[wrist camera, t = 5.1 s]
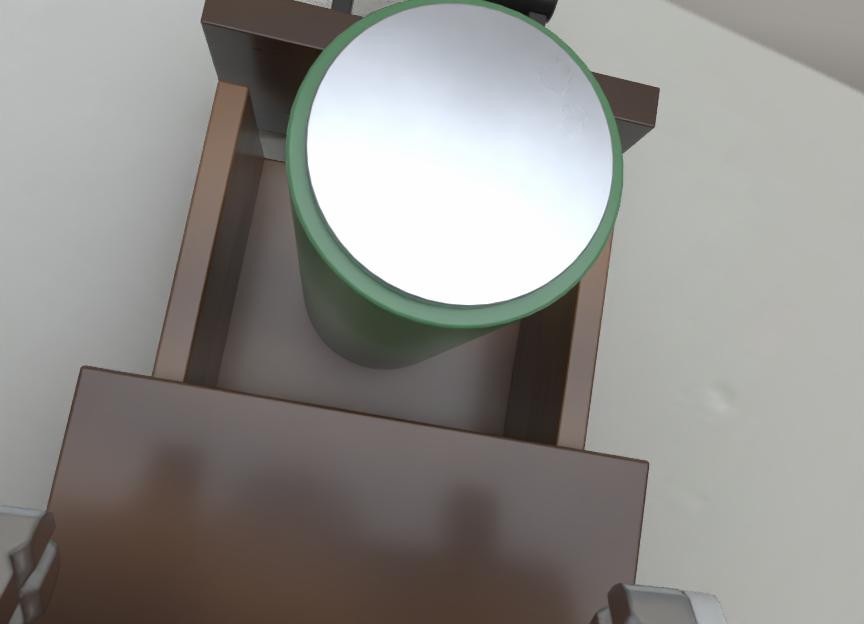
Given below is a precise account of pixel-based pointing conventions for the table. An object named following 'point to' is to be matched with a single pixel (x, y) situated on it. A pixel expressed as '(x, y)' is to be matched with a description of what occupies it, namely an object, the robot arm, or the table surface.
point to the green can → (445, 178)
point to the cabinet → (324, 515)
